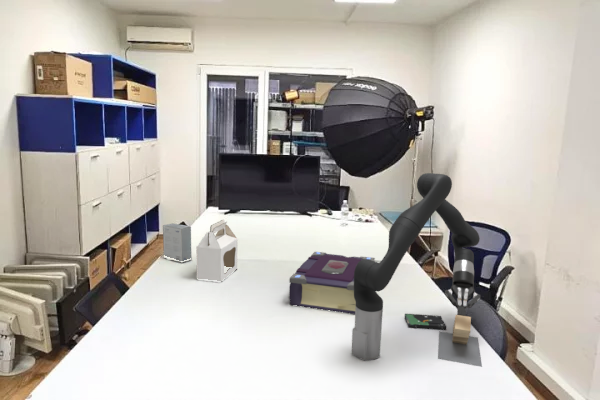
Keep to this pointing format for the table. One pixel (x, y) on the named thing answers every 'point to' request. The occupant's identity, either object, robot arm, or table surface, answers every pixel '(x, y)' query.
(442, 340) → the rubber mat
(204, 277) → the gable box
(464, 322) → the oak block
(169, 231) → the hard drive box
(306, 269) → the book
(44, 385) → the table surface
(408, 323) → the disk drive
